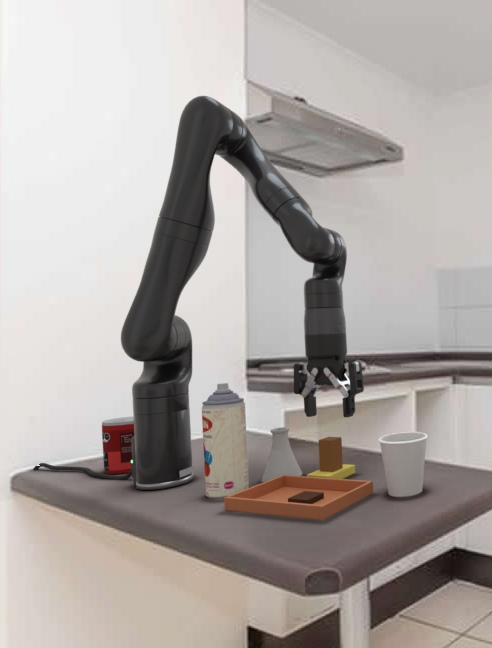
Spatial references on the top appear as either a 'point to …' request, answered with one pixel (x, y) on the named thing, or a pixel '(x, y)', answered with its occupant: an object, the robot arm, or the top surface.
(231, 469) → the aerosol can
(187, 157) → the robot arm
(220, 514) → the top surface
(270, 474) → the flask
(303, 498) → the block
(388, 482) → the dixie cup
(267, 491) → the orange tray
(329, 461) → the brush
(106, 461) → the canned food
